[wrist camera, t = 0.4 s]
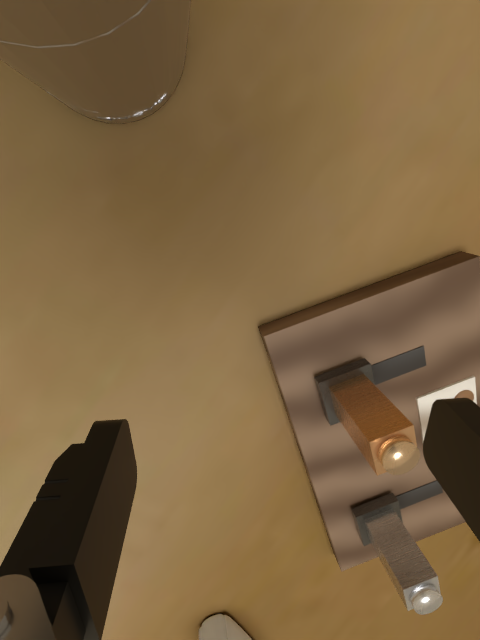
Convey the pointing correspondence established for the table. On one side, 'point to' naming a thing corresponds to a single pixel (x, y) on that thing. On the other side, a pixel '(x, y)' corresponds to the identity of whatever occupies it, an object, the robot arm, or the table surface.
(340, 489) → the switch board
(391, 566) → the grey switch
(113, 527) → the robot arm
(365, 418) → the copper switch
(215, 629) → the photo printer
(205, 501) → the table surface
